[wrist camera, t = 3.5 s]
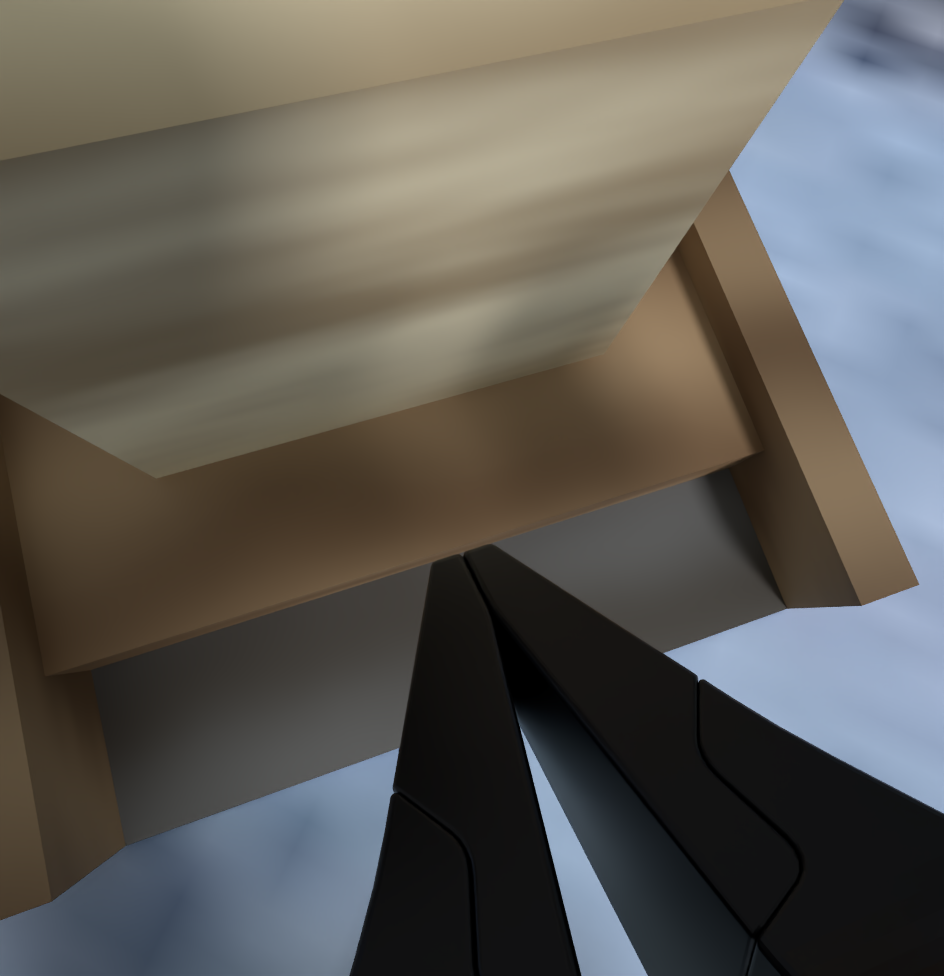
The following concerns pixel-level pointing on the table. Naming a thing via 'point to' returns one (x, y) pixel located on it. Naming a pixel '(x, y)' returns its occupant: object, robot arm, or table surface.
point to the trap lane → (404, 556)
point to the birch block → (347, 198)
